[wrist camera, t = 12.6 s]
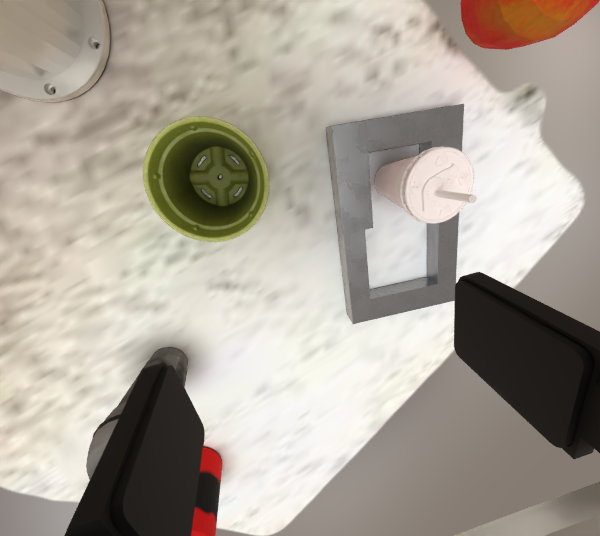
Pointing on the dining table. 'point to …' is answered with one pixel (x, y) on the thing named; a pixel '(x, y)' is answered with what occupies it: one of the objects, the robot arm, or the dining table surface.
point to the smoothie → (429, 184)
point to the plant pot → (205, 179)
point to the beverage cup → (106, 428)
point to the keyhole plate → (358, 210)
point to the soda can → (207, 494)
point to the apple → (519, 20)
